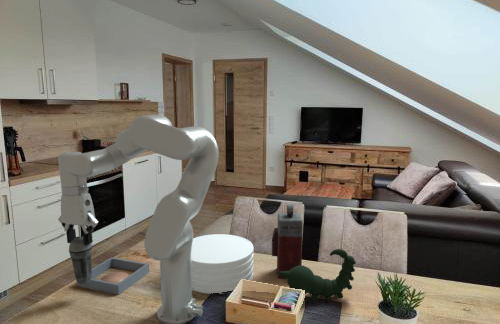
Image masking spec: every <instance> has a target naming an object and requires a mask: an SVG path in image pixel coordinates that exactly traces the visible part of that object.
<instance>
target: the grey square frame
mask: <svg viewBox="0 0 500 324" xmlns="http://www.w3.org/2000/svg"><path fill="white" fill-rule="evenodd" d="M111 268H118V269H123V270H130V271H134V272H132V273H131V274H130V275H129V273H127V272H124V271H115V272H110V273H109V274H105V275H104V276H103V277H102V278H101V279H97V277H99V276H100V275H101V274H102V273H105V272H107V270H109V269H111ZM91 269H92V276H91V281H90V282H88V283H85V284H78V283H77V286H78V287H81V288H86V289H91V290H95V291H99V292H103V293H108V294H109V293H110V294H114V295H121V294H122V293H123V292H125V291H126V290H127V289H129V288H130V287H132V286H133V285H134V284H135V283H137V282H138V281H140V280H141V279H142V278H143V277H145V276H146V275H147V274H149V273H150V263H146V262H141V261H135V260H131V259H130V260H129V259H124V258H118V257H114V256H113V257H112V256H111V257H109V258H107V259H106V260H104V261H103V262H101V263H99V264H97V265H96V266H94V267H91Z"/></svg>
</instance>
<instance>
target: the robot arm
mask: <svg viewBox="0 0 500 324" xmlns="http://www.w3.org/2000/svg"><path fill="white" fill-rule="evenodd" d="M115 141H116V142H114V143H112V144H111V145H109V146H107V147H105V148H103V149H97V150H91V151H87V152H83V153H82V152H81V151H67V152H61V153H59V155H58V157H57V160H58V161H57V162H58V171H59V180H60V189H61V196H60V216H59V217H58V219H57V220H58V222H59V223H60V224H61V226H62V227H63V230H64V232H65V233H66V241H67V243H68V244H70V243H71V241H72V240H73V239H74V238H76V237H77V236H76V235H77V233H76V228H75V226H78V225H80V227H81V228H82V231H83V234H82V236H83V240H84V245H88V244H90V243H92V244H93V242H94V240H93V231H94V229H95V228H96V226H97V225H98V224H99V221H98V219H97V218H96V215H95V208H94V204H93V200H92V196H91V194H90V193H89V187H88V183H87V181H88V180H87V178H91V177H95V176H98V175H100V174H105V173H107V172H108V173H109V172H110V171H112V170H115V169H117V168H119V167H120V166H123V165H125V164H126V163H128V162H130V161H131V160H134V159H135V158H136V157H138V156H140V155H142V154H144V153H146V152H147V151H150V152H153V153H155V154H158V155H161V156H163V157H167V158H168V159H169V158H170V159H172V160H175V161H185V160H188V159H189V161H188V162H187V165H185V166H186V167H185V168H184V169H183V171H182V175H181V178H180V180H179V182H178V185H177V187H176V188H175V189H174V190H173V191H171V192H169V193H168V194H166V195H165V196H163V197H162V198H161V200H159V202H158V204H157V205H156V207H155V210H154V212H153V215H152V217H151V220H150V222H149V225H148V228H147V231H146V234H145V236H144V249H145V253H146V254H147V255H148V256H149V257H150V258H151V259H152V260H155V261H159V266H160V267H159V271H160V273H159V274H160V294H161V295H160V296H161V298H160V299H161V305H160V306H159V307H158V309H157V311H156V317H157V319H158V321H160V322H161V323H163V324H186V323H188V322H190V321H192V320H193V319H194V318H195V317H196V316H199V317H202V316H203V314H204V307H203V304H198V303H196V298H195V297H194V298H193V290H192V269H191V266H192V265H191V252H192V242H193V238H194V228H193V225H192V224H191V220H192V219H193V218H195V217H196V216H197V215H198V214H199V212H200V211H201V210H202V209H201V208H202V205H203V203H204V200H205V199H206V196H207V193H208V191H209V187H210V185H211V182H212V180H213V178H214V175H215V172H216V170H217V167H218V163H219V155H220V151H219V146H218V143H217V141H216V138H215V137H214V135H213V134H212V133H211V132H210V131H209V130H207V129H206V128H205V127H203V126H195V125H193V126H186V127H181V128H178V127H176V126H173V124H172V122H171V120H170V119H169V118H168V117H166V116H165V115H161V114H146V115H140V116H136V118H134V119H133V120H132V121H131V122H130V123H129V126H128V128H126V129H125V130H123V131H120V132H119V133H118V134H117V135H116V139H115Z"/></svg>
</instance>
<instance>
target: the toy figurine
mask: <svg viewBox="0 0 500 324" xmlns="http://www.w3.org/2000/svg"><path fill="white" fill-rule="evenodd" d="M334 255H335V256H336V255H337V256H339V257H340V258H342V259H343V262H342V265H341V269H340V270H339V273H338V275H337V276H336V278H334V279H329V278H323V277H322V276H320V275H317V274H315V273H314V272H313V270H311V269H310V267H308V266H305V265H299V266H295V267H293V268H292V269H291V270H290V271H281V272H279V274H280V275H282V276H283V277H284V278H286V279H285V280H286V282H287V285H288V288H289V289H290V288H295V289H302V290H305V294H304V295H306V294H309V295H310V296H311V300H313V301H317V300H319V298H320V296H321V297H323V298H324V301H325V302H326V301H328V302H331V300H332V299H331V298H332V297H334V296H336V297H337V298H338V299H340V300H341V299H343V298H344V293H343V291H344V290H345V289H347V290H352V289H353V286H352V284H351V281H354V280H355V278H354V276H353V274H352V273H355V272H356V269H355V267H354V265H356V263H357V262H356V261H355V258H354V257H353V256H352V255H348V253H347V251H346V250H344V249H342V248H336V249H333V250H331V251H330V253H329V256H334ZM328 302H327V303H328Z"/></svg>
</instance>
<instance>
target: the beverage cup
mask: <svg viewBox="0 0 500 324" xmlns="http://www.w3.org/2000/svg"><path fill="white" fill-rule="evenodd" d="M77 226H78V227H77V228H78V236H76V238H74V239H73V240H72V241H71V243H69V246H68V253H69V256H70V259H71V262H72V268H73V272H74V276H75V277H74V278H75V280H76V284H77V285H78V284H85V283H88V282H90V281H91V276H92V253H93V242H92V243H90V244H88V245H84V240H83V235H81V234H82V233H81V225H77Z"/></svg>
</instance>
